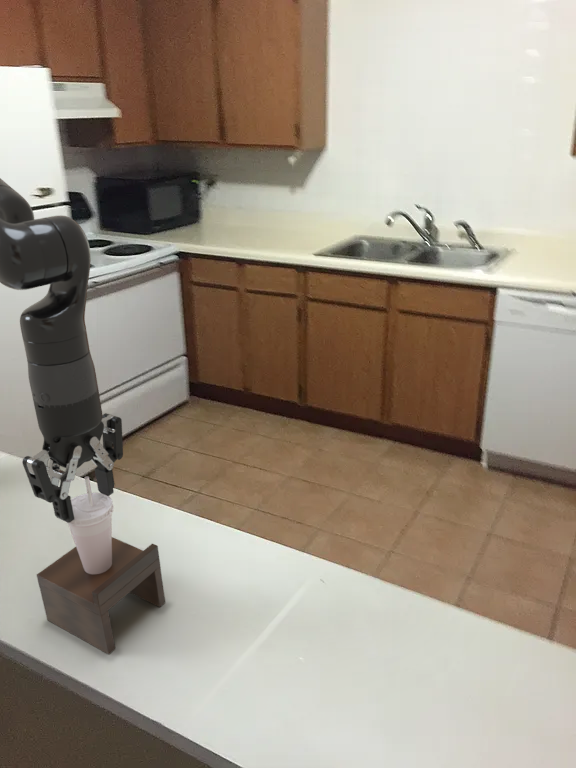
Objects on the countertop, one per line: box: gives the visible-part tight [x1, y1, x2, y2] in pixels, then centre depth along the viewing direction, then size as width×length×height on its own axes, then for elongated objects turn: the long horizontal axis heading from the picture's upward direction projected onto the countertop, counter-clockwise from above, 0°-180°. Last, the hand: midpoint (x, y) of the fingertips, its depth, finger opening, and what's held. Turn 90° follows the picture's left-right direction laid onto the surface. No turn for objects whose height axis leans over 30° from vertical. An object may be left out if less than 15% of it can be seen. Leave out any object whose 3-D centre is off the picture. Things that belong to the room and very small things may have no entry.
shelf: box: [36, 536, 166, 655], centre depth 92 cm, size 12×11×10 cm
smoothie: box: [64, 475, 115, 574], centre depth 88 cm, size 6×6×14 cm
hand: (86, 505), depth 87 cm, fingers closed on smoothie, 6 cm apart
